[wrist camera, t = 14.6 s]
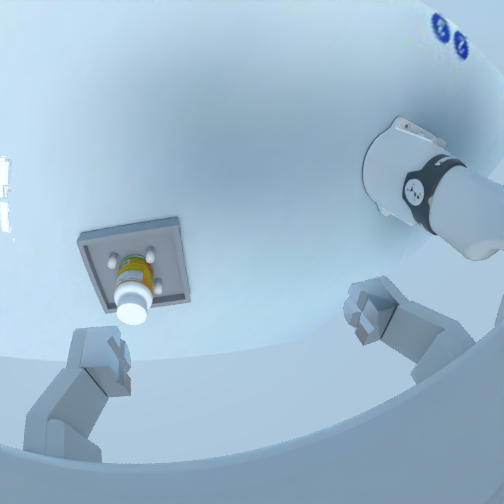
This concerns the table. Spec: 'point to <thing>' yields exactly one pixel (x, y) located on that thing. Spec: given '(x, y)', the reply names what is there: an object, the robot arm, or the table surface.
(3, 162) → the syringe
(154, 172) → the table surface
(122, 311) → the supplement bottle
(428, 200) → the robot arm
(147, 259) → the pin tray
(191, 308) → the table surface
